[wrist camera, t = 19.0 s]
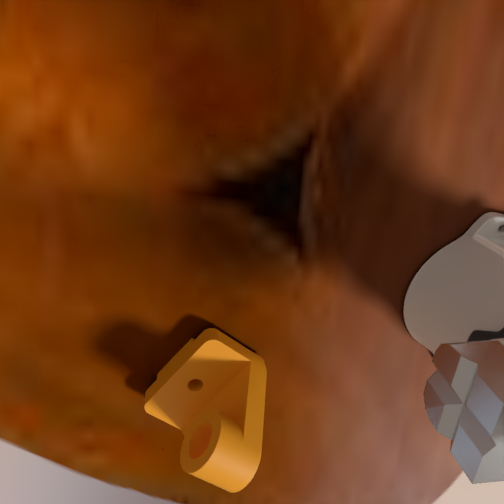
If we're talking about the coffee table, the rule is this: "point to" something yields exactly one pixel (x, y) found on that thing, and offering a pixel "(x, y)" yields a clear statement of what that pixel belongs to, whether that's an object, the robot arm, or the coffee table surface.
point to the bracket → (214, 408)
